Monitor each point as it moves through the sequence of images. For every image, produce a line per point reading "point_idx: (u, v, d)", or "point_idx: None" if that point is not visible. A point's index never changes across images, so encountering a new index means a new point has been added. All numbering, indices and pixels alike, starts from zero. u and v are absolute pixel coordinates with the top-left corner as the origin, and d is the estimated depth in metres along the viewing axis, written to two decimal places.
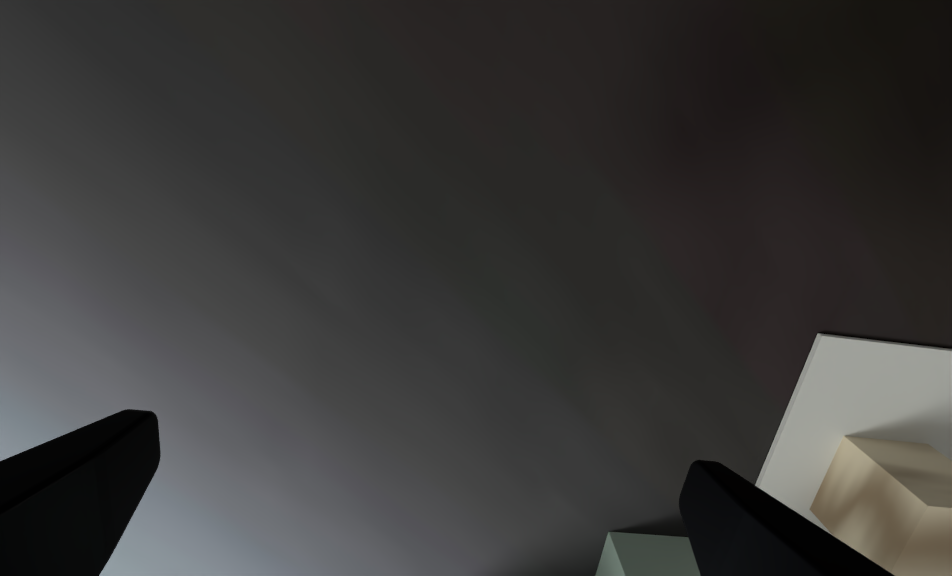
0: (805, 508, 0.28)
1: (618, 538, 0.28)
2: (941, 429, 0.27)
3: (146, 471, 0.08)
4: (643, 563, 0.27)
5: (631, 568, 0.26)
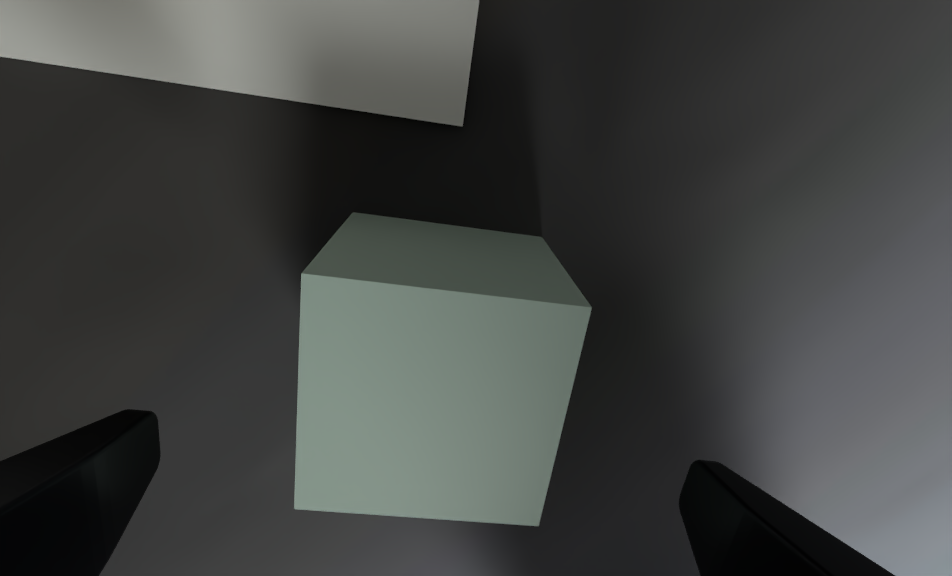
0: None
1: None
2: None
3: (146, 471, 0.08)
4: None
5: None
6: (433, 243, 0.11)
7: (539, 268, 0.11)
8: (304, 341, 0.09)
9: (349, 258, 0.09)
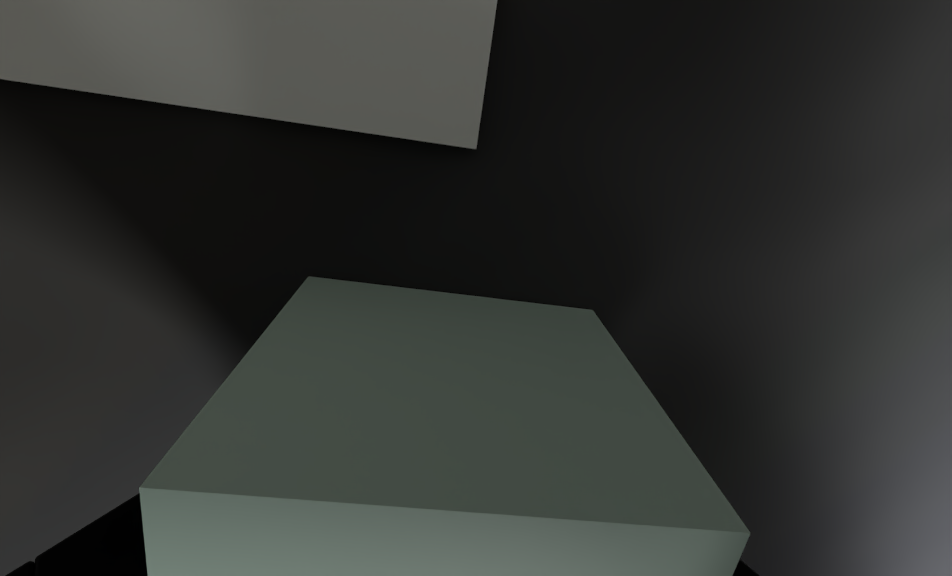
0: None
1: None
2: None
3: None
4: None
5: None
6: (430, 347, 0.07)
7: (612, 399, 0.06)
8: None
9: (267, 411, 0.05)
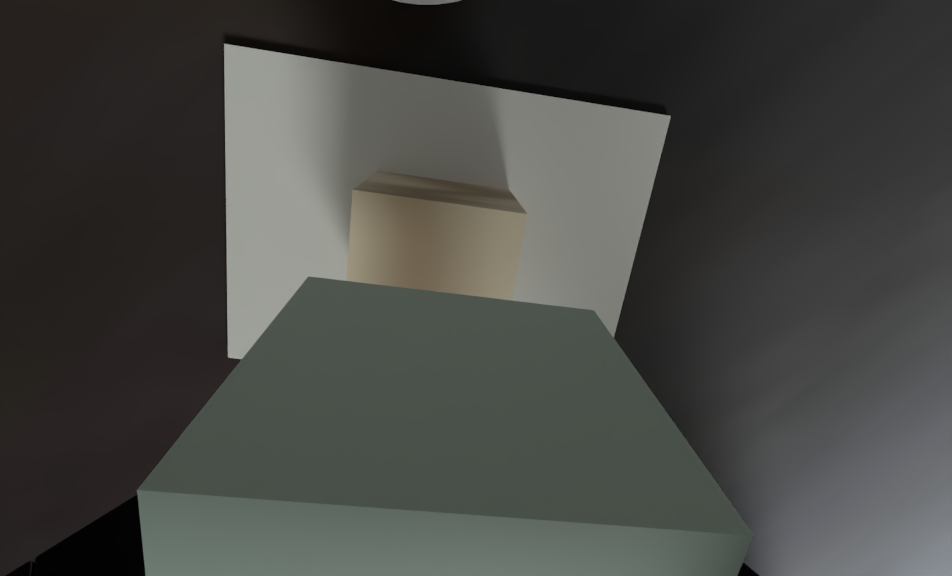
0: None
1: None
2: (352, 157, 0.19)
3: None
4: None
5: None
6: (430, 347, 0.07)
7: (614, 399, 0.06)
8: None
9: (266, 412, 0.05)
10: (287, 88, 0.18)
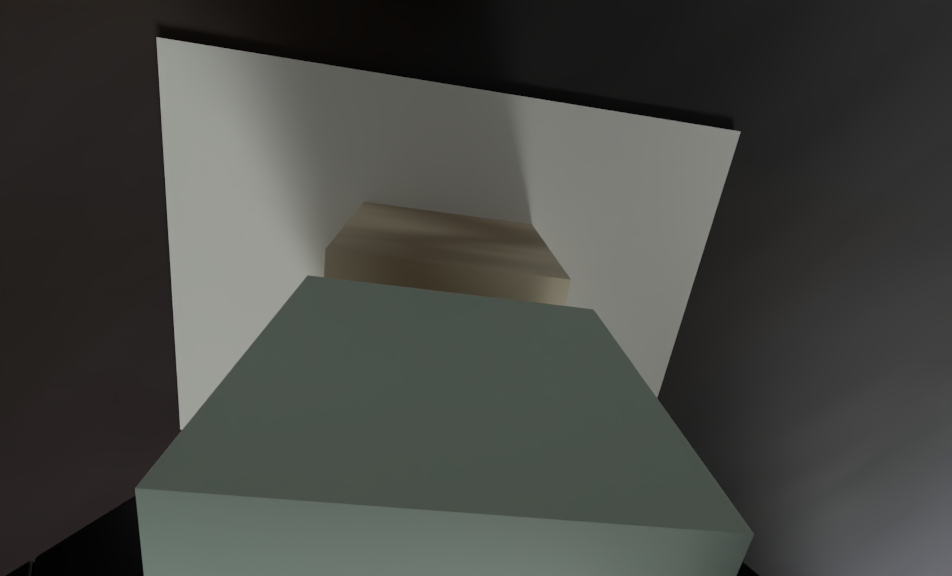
0: None
1: None
2: (330, 185, 0.14)
3: None
4: None
5: None
6: (430, 345, 0.07)
7: (613, 399, 0.06)
8: None
9: (266, 410, 0.05)
10: (243, 96, 0.13)
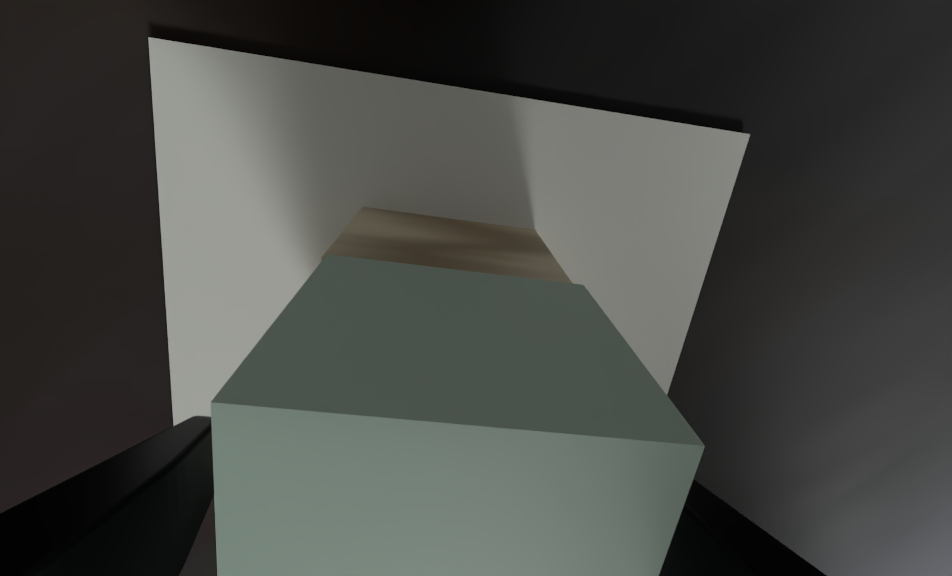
0: None
1: None
2: (328, 189, 0.14)
3: None
4: None
5: None
6: (438, 310, 0.08)
7: (597, 352, 0.07)
8: (223, 505, 0.05)
9: (304, 353, 0.06)
10: (238, 98, 0.13)
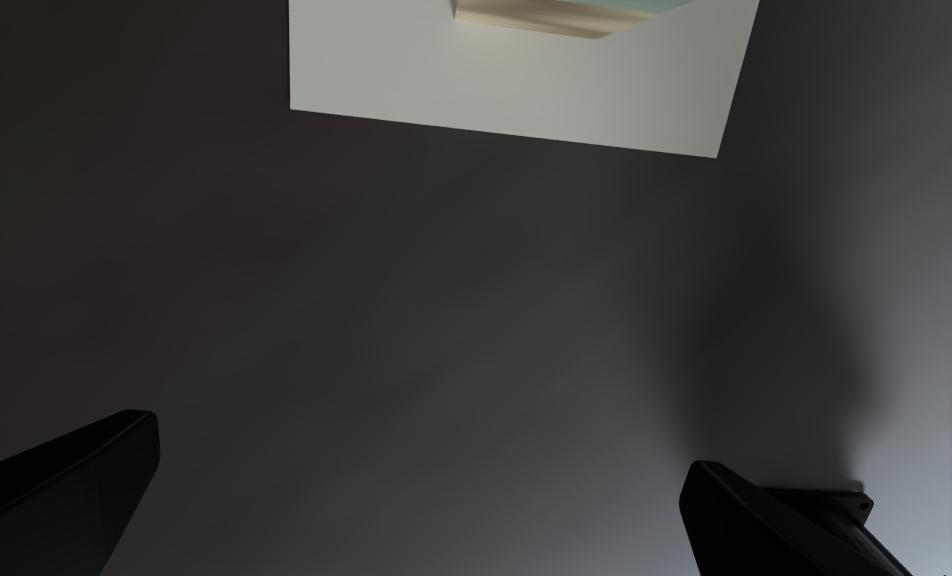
0: (594, 47, 0.18)
1: None
2: None
3: (146, 471, 0.08)
4: None
5: None
6: None
7: None
8: None
9: None
10: None
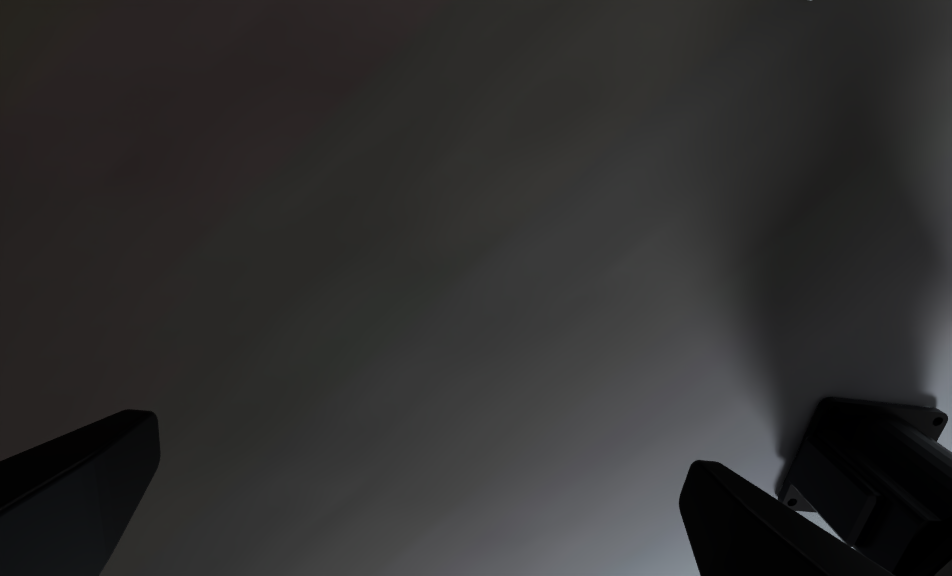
0: None
1: None
2: None
3: (146, 471, 0.08)
4: None
5: None
6: None
7: None
8: None
9: None
10: None
